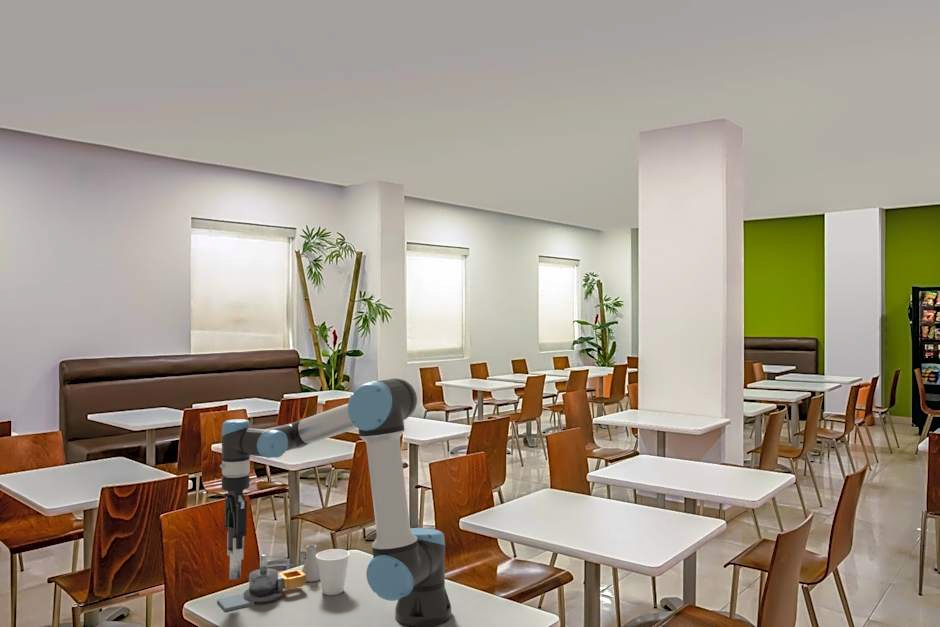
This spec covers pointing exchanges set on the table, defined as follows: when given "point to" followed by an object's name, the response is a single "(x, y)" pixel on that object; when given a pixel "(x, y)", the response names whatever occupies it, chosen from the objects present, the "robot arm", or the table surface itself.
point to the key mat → (234, 602)
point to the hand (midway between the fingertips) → (235, 556)
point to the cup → (332, 570)
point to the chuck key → (234, 565)
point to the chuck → (273, 579)
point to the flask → (311, 565)
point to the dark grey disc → (264, 597)
